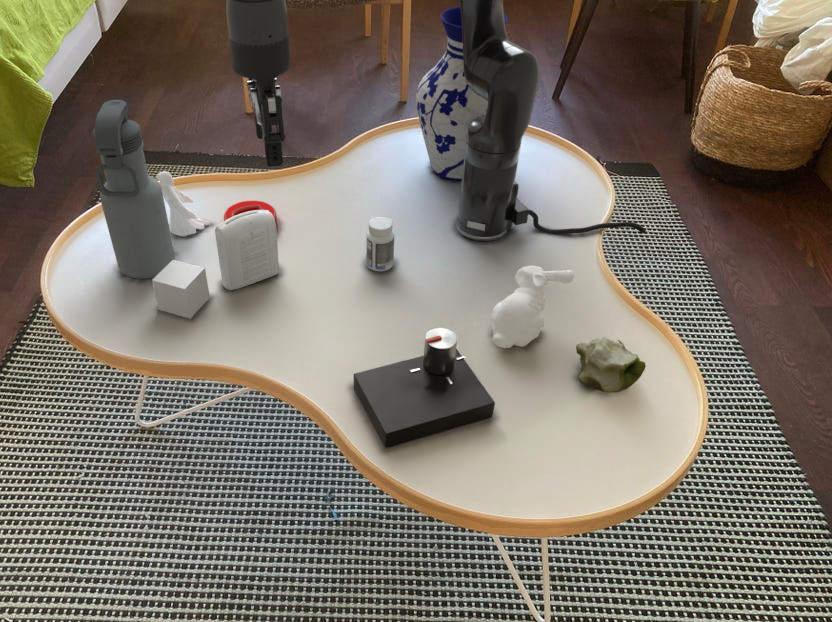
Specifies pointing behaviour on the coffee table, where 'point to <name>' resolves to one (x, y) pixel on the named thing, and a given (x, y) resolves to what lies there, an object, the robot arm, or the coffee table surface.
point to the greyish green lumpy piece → (608, 365)
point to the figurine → (179, 208)
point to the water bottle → (130, 195)
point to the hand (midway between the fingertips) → (269, 150)
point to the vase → (448, 104)
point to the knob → (439, 351)
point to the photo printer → (247, 248)
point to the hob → (421, 399)
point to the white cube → (181, 288)
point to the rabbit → (524, 307)
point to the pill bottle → (380, 244)
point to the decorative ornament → (249, 209)
